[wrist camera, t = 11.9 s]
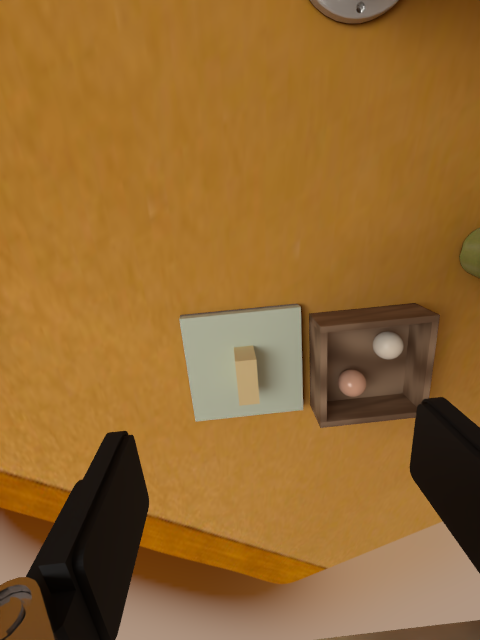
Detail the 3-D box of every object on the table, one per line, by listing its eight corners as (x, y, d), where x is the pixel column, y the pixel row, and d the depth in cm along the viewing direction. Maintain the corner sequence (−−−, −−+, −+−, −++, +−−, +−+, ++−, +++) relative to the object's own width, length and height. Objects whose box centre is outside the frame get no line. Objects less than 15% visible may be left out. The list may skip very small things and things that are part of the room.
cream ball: (368, 328, 41) (381, 339, 38) (395, 326, 41) (410, 336, 38) (367, 353, 43) (379, 365, 39) (393, 350, 43) (408, 362, 39)
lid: (180, 316, 39) (174, 330, 35) (299, 304, 40) (309, 317, 35) (196, 416, 44) (193, 441, 40) (301, 405, 45) (310, 428, 40)
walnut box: (309, 313, 41) (320, 327, 36) (414, 303, 41) (439, 315, 36) (310, 405, 45) (320, 427, 41) (405, 395, 46) (426, 416, 41)
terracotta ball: (334, 366, 43) (343, 379, 39) (360, 363, 43) (372, 376, 40) (333, 389, 44) (343, 403, 41) (359, 386, 44) (370, 401, 41)
